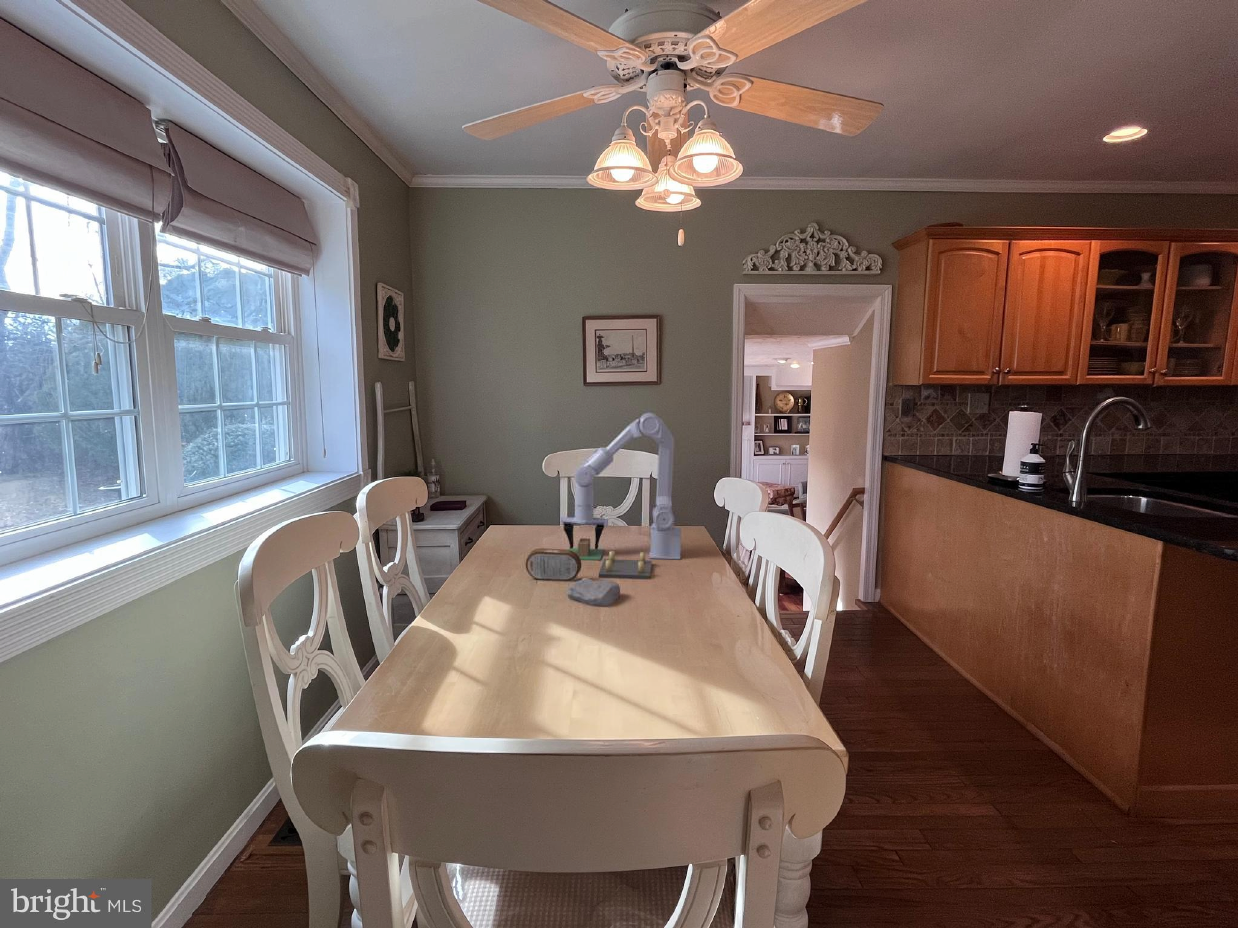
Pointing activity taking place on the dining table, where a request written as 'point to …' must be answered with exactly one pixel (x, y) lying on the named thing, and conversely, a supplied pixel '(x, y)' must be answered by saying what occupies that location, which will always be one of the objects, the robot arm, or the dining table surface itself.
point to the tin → (553, 564)
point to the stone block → (594, 592)
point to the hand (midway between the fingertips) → (584, 548)
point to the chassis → (626, 567)
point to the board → (592, 554)
